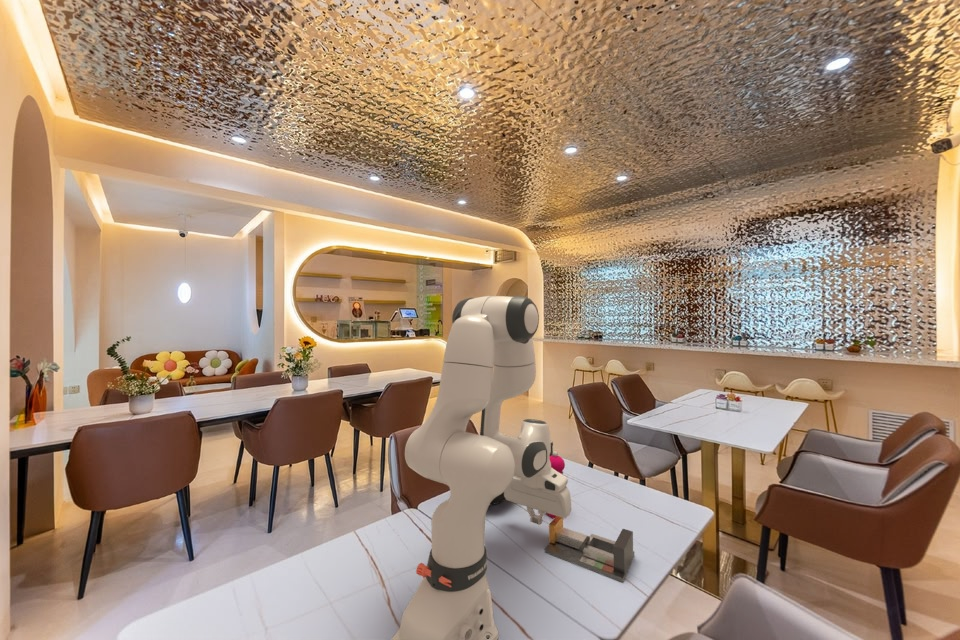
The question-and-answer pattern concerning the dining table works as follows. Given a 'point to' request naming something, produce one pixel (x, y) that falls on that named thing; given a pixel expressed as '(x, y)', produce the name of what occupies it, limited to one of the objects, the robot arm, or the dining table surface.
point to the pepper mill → (556, 468)
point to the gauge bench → (600, 555)
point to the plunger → (567, 535)
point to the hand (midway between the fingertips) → (536, 522)
